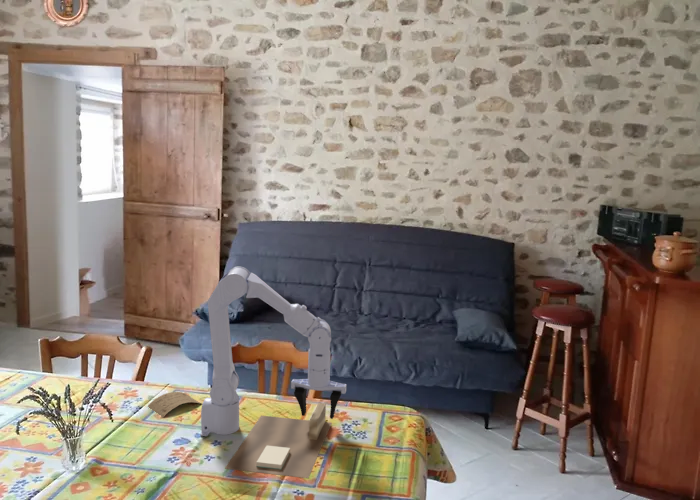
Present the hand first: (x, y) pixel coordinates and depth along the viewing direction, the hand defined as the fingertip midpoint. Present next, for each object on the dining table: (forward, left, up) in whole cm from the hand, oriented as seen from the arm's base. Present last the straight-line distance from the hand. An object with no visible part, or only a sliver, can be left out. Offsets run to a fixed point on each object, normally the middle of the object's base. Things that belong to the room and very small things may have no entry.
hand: (317, 415), depth 162 cm
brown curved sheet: (-44, +7, -6) cm, 45 cm away
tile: (-7, -14, -3) cm, 16 cm away
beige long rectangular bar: (0, -1, -4) cm, 4 cm away
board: (-7, -10, -5) cm, 13 cm away
